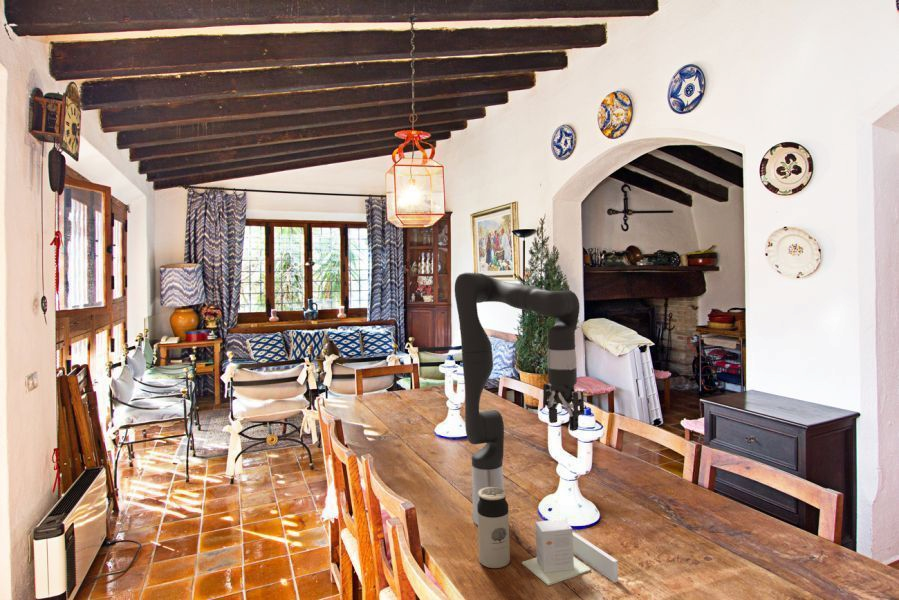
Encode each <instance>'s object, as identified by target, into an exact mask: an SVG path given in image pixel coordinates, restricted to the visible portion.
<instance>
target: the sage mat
mask: <svg viewBox="0 0 899 600" xmlns="http://www.w3.org/2000/svg"><path fill="white" fill-rule="evenodd" d="M573 560H574V569H572V570H564V571H556V572H548V573H543V571H542V569H541V568H540V566H539V564H538V563H537V556H536V557H534V558H530V559H528V560H527V559H526V560H524V561H522V562H521V564H522V565H523V566H524V567H526V568H527V570H529V571H530V572H531V573H532V574H534V575H535V576H536V577H537V578H538V579H540V580H541V581H542V582H543V583H544V584H546V585H547V586H551V585H554V584H556V583H560V582H562V581H565V580H568V579H572V578H575V577H576V576H577V577H578V576H580V575H584V574H586V573H589V572H591V571H592V569H591V568H590V567H589V566H587V565H585V564H584V563H583V562H582V561H580V560H579V559H577V558H576V557H575V556H573Z"/></svg>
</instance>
